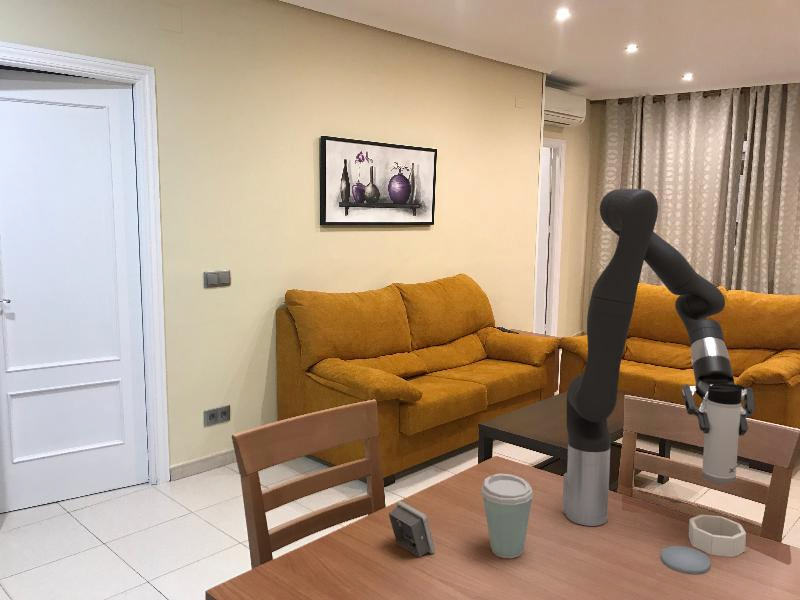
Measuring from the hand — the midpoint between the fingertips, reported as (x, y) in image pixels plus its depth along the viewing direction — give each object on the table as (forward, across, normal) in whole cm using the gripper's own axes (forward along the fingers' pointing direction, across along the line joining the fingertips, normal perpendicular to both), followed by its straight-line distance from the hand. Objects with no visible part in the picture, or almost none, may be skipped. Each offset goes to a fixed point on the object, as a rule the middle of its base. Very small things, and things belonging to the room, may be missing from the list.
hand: (724, 432), depth 130 cm
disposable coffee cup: (+24, -43, +12) cm, 51 cm away
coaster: (+23, -8, +13) cm, 27 cm away
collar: (+16, 0, +19) cm, 25 cm away
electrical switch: (+26, -63, +10) cm, 69 cm away
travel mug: (+6, 0, +9) cm, 11 cm away
